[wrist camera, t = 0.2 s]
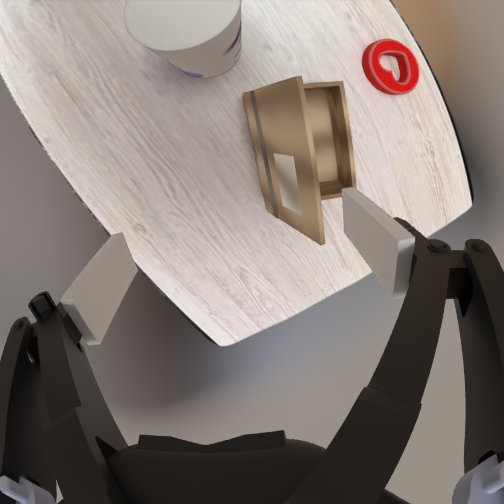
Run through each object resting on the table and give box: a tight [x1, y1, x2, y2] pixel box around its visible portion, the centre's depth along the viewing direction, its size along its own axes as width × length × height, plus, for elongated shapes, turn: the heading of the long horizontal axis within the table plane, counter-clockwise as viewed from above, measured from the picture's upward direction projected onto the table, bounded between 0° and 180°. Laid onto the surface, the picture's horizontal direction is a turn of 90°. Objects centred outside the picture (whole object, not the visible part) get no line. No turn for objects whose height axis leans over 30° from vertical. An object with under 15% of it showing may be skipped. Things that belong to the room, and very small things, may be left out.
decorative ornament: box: [362, 39, 419, 94], centre depth 32 cm, size 10×10×3 cm
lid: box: [244, 76, 325, 245], centre depth 27 cm, size 15×12×1 cm
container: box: [124, 0, 241, 78], centre depth 23 cm, size 10×10×20 cm
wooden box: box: [243, 81, 356, 209], centre depth 36 cm, size 16×13×7 cm
